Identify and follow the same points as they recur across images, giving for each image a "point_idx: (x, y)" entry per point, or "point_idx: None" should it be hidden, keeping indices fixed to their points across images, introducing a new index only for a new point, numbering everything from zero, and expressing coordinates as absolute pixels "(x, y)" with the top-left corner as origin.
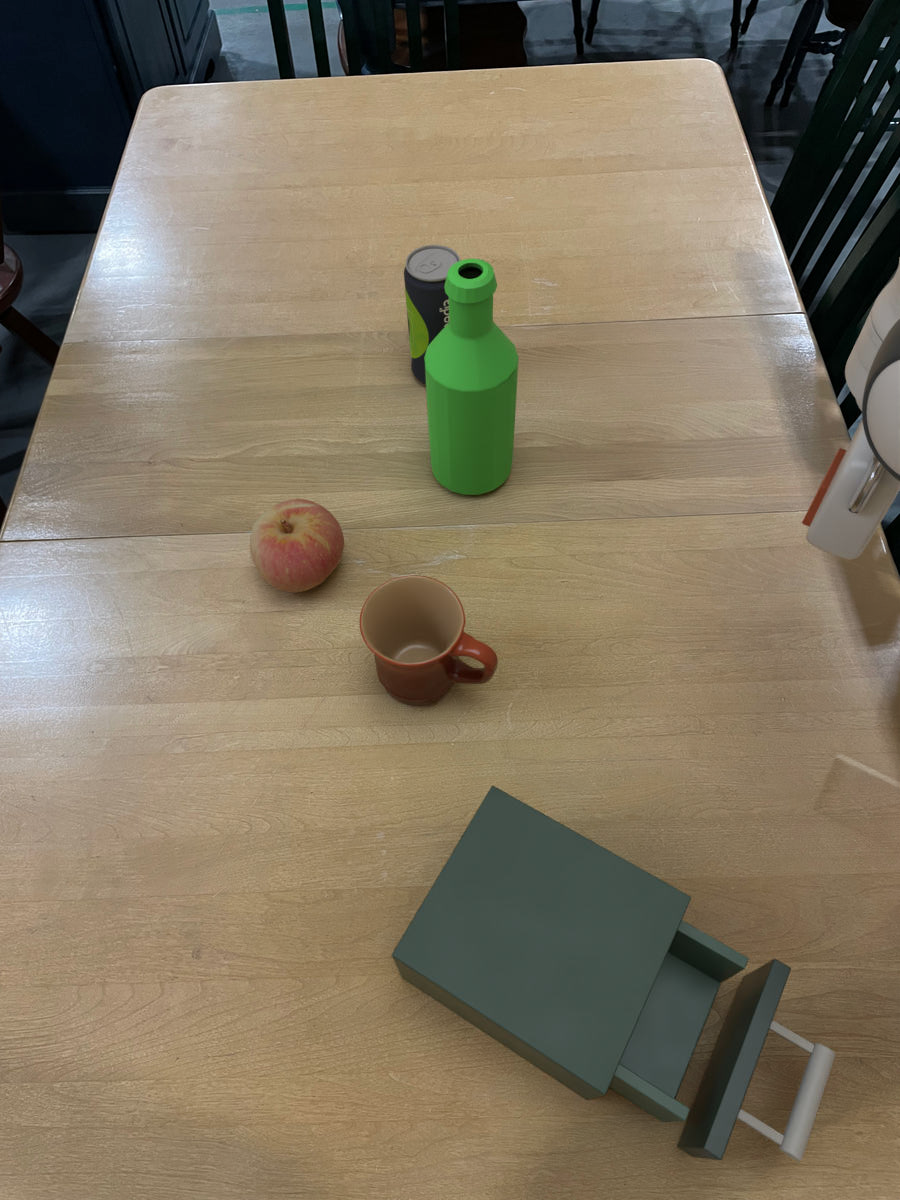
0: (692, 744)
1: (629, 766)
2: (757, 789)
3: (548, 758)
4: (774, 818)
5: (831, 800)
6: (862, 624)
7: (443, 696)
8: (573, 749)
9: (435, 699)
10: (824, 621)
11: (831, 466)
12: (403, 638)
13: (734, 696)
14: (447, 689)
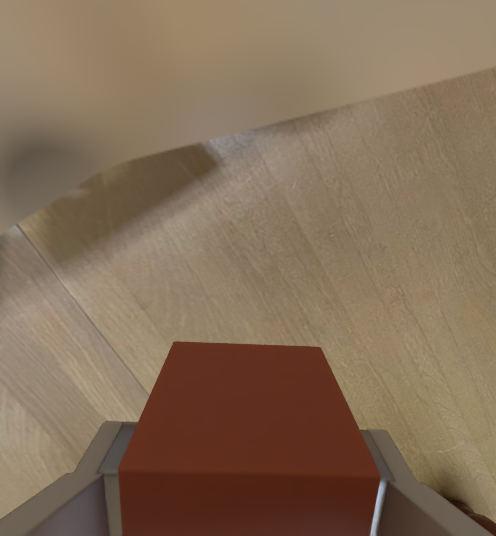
0: (419, 300)
1: (463, 342)
2: (445, 227)
3: (479, 405)
4: (470, 201)
5: (430, 152)
6: (191, 180)
7: (461, 504)
8: (463, 390)
9: (475, 513)
10: (210, 222)
11: None
12: None
13: (349, 281)
14: (466, 513)
